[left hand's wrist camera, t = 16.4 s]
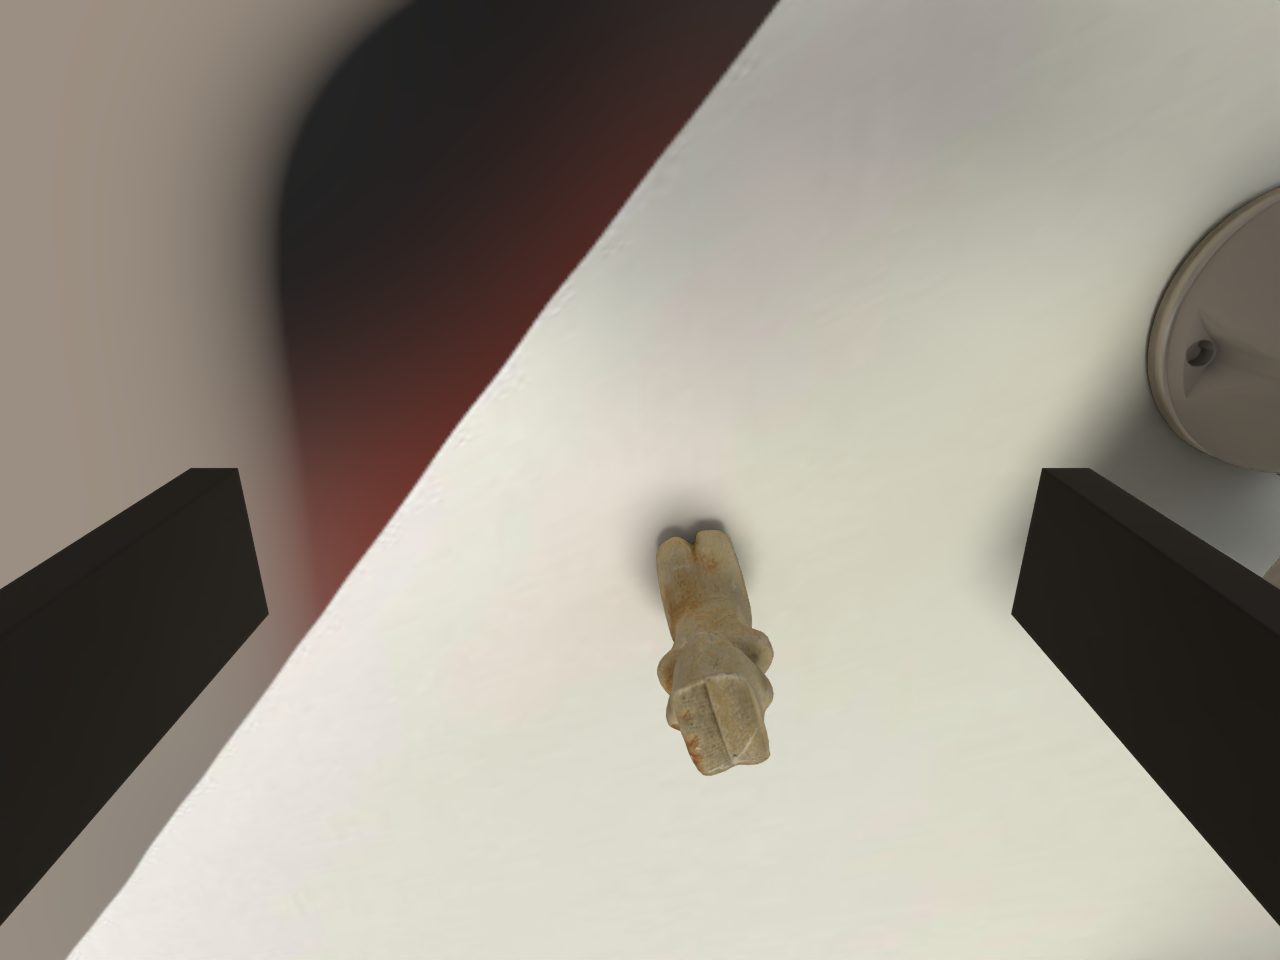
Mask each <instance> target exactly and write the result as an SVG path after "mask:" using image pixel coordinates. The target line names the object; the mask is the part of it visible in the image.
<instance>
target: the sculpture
mask: <svg viewBox="0 0 1280 960" xmlns="http://www.w3.org/2000/svg"><path fill="white" fill-rule="evenodd" d="M656 558H657V571H658V578H659V585H660V591H661V597H662V602H663V606H664V611H665V615H666V619H667V622H668V626H669V630H670V634H671V637H672V639H673V641H674V644H673V647H672V649H671V650H670V651H669V652H668V653H667V654H666V655H665V656H664V657H663V658H662V659H661V661H660V662H659V665H658V669H657V675H658V678H659V681H660V684H661V685H662V687H663V688H664V689H665V691H666V692H667V693H668V694H669V695H670V697H669V701H668V705H667V709H666V718H667V722H668V724H669V726H671V727H672V728H674V729H677V730H679V731H681V733H682V736H683V738H684V741H685V743H686V746H687V749H688V752H689V755H690V757H691V759H692V761H693V763H694V764H695V766H696V767H697V769H698V770H699V771H700V772H701V773H702V774H703V775H705V776H712V775H715V774H718V773H721V772H724V771H726V770H728V769H730V768H731V767H733V766H736V765H753V764H759V763H762V762H764V761H765V760H767V759H768V758H769V756H770V751H769V740H768V736H767V732H766V727H765V724H764V713H765V711H766V709H767V708H768V706H769V705H770V704H771V702H772V700H773V689H772V686H771V683H770V681H769V679H768V678H767V677H766V676H765V674H764V673H765V672H766V671H767V670H768V668H769V667H770V665H771V663H772V660H773V654H774V652H773V649H772V646H771V643H770V641H769V639H768V637H767V636H766V635H765V634H764V633H763V632H761V631H758V630H755V629H752V616H751V608H750V603H749V599H748V595H747V591H746V587H745V583H744V580H743V576H742V573H741V569H740V566H739V563H738V560H737V558H736V555H735V552H734V549H733V546H732V544H731V541H730V538H729V536H728V535H727V534H725V533H724V532H723V531H720V530H703V531H700V532H698V533H697V535H696V539H695V543H694V544H690V543H688V542H687V541H686V540H684V539H682V538H680V537H672V538H670V539H668V540H666V541H665V542H663V543H662V544H661V545H660V546H659V548H658V551H657V557H656Z"/></svg>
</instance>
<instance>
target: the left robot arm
mask: <svg viewBox="0 0 1280 960" xmlns="http://www.w3.org/2000/svg"><path fill="white" fill-rule="evenodd" d="M1148 374H1149V381H1150V387H1151V390H1152V394H1153V398H1154V400H1155V402H1156V405H1157V407H1158V409H1159V411H1160V413H1161V415H1162V417H1163V418H1164V420H1165V421H1166V422H1167V424H1168V425H1169V426H1170V428H1171V429H1172V430H1173V431H1174V432H1175V433H1176V434H1177V435H1178V436H1179V437H1181V438H1182V439H1183V440H1184V441H1186V442H1187V443H1188V444H1190V445H1192V446H1193V447H1195V448H1197V449H1199V450H1201V451H1203V452H1205V453H1207V454H1209V455H1211V456H1213V457H1215V458H1217V459H1220V460H1222V461H1224V462H1226V463H1229V464H1232V465H1235V466H1239V467H1243V468H1248V469H1253V470H1258V471H1263V472H1274V473H1279V474H1277V475H1280V187H1278V188H1276V189H1274V190H1271V191H1269V192H1267V193H1265V194H1263V195H1261V196H1259V197H1258V198H1256V199H1254V200H1252V201H1251V202H1249V203H1247V204H1246V205H1244V206H1243V207H1241V208H1240V209H1238V210H1237V211H1235V212H1234V213H1232V214H1231V215H1230V216H1229V217H1227V218H1226V219H1225V220H1224V221H1222V222H1221V223H1220V224H1219V225H1218V226H1217V227H1215V228H1214V229H1213V230H1212V231H1211V232H1210V233H1209V234H1208V235H1207V236H1206V237H1205V238H1204V239H1203V240H1202V241H1201V242H1200V243H1199V244H1198V245H1197V247H1196V248H1195V249H1194V250H1193V251H1192V252H1191V254H1190V255H1189V256H1188V257H1187V259H1186V260H1185V261H1184V263H1183V264H1182V266H1181V267H1180V269H1179V270H1178V271H1177V273H1176V274H1175V276H1174V278H1173V279H1172V281H1171V283H1170V285H1169V287H1168V288H1167V290H1166V292H1165V294H1164V297H1163V299H1162V301H1161V303H1160V305H1159V308H1158V311H1157V314H1156V316H1155V320H1154V323H1153V327H1152V331H1151V336H1150V342H1149V350H1148ZM268 614H269V613H268V608H267V603H266V599H265V594H264V589H263V585H262V580H261V575H260V570H259V566H258V561H257V556H256V552H255V547H254V542H253V537H252V533H251V528H250V523H249V519H248V514H247V509H246V504H245V500H244V495H243V490H242V486H241V481H240V476H239V472H238V468H190V469H189V470H187V471H186V472H184V473H183V474H181V475H179V476H178V477H176V478H175V479H173V480H171V481H170V482H168V483H167V484H165V485H164V486H162V487H160V488H159V489H157V490H156V491H154V492H153V493H151V494H149V495H148V496H146V497H145V498H143V499H142V500H140V501H138V502H137V503H135V504H134V505H132V506H131V507H129V508H128V509H126V510H124V511H123V512H121V513H120V514H118V515H116V516H115V517H113V518H112V519H110V520H109V521H107V522H105V523H104V524H102V525H101V526H99V527H98V528H96V529H94V530H93V531H91V532H90V533H88V534H87V535H85V536H83V537H82V538H80V539H79V540H77V541H75V542H74V543H72V544H71V545H69V546H68V547H66V548H65V549H63V550H61V551H60V552H58V553H57V554H55V555H53V556H52V557H50V558H49V559H47V560H46V561H44V562H42V563H41V564H39V565H38V566H36V567H35V568H33V569H32V570H30V571H28V572H27V573H25V574H24V575H22V576H21V577H19V578H17V579H16V580H14V581H13V582H11V583H9V584H8V585H6V586H5V587H3V588H2V589H0V926H1V925H2V923H3V922H4V921H5V920H6V919H7V918H8V916H9V915H10V914H11V913H12V912H13V911H14V909H15V908H16V907H17V906H18V905H19V904H20V902H21V901H22V900H23V899H24V898H25V897H26V896H27V894H28V893H29V892H30V891H31V890H32V889H33V887H34V886H35V885H36V884H37V883H38V881H39V880H40V879H41V878H42V877H43V876H44V875H45V873H46V872H47V871H48V870H49V869H50V868H51V866H52V865H53V864H54V863H55V862H56V861H57V860H58V858H59V857H60V856H61V855H62V854H63V853H64V851H65V850H66V849H67V848H68V847H69V846H70V844H71V843H72V842H73V841H74V840H75V839H76V837H77V836H78V835H79V834H80V833H81V832H82V830H83V829H84V828H85V827H86V826H87V825H88V823H89V822H90V821H91V820H92V819H93V818H94V816H95V815H96V814H97V813H98V812H99V811H100V810H101V808H102V807H103V806H104V805H105V804H106V803H107V801H108V800H109V799H110V798H111V797H112V796H113V794H114V793H115V792H116V791H117V790H118V789H119V787H120V786H121V785H122V784H123V783H124V782H125V780H126V779H127V778H128V777H129V776H130V775H131V774H132V772H133V771H134V770H135V769H136V768H137V767H138V765H139V764H140V763H141V762H142V761H143V760H144V758H145V757H146V756H147V755H148V754H149V753H150V751H151V750H152V749H153V748H154V747H155V746H156V744H157V743H158V742H159V741H160V740H161V739H162V737H163V736H164V735H165V734H166V733H167V732H168V731H169V729H170V728H171V727H172V726H173V725H174V724H175V722H176V721H177V720H178V719H179V718H180V717H181V715H182V714H183V713H184V712H185V711H186V710H187V708H188V707H189V706H190V705H191V704H192V703H193V701H194V700H195V699H196V698H197V697H198V696H199V694H200V693H201V692H202V691H203V690H204V689H205V688H206V686H207V685H208V684H209V683H210V682H211V681H212V679H213V678H214V677H215V676H216V675H217V674H218V672H219V671H220V670H221V669H222V668H223V667H224V665H225V664H226V663H227V662H228V661H229V660H230V658H231V657H232V656H233V655H234V654H235V653H236V652H237V650H238V649H239V648H240V647H241V646H242V644H243V643H244V642H245V641H246V640H247V639H248V638H249V636H250V635H251V634H252V633H253V632H254V631H255V629H256V628H257V627H258V626H259V625H260V624H261V622H262V621H263V620H264V619H265V618H266V617H267V615H268ZM1011 614H1012V615H1013V617H1014V618H1015V619H1016V620H1017V621H1018V622H1019V624H1020V625H1021V626H1022V627H1023V628H1024V629H1025V631H1026V632H1027V633H1028V634H1029V635H1030V636H1031V638H1032V639H1033V640H1034V641H1035V642H1036V643H1037V645H1038V646H1039V647H1040V648H1041V649H1042V650H1043V652H1044V653H1045V654H1046V655H1047V656H1048V657H1049V658H1050V660H1051V661H1052V662H1053V663H1054V664H1055V665H1056V667H1057V668H1058V669H1059V670H1060V671H1061V672H1062V674H1063V675H1064V676H1065V677H1066V678H1067V679H1068V681H1069V682H1070V683H1071V684H1072V685H1073V686H1074V688H1075V689H1076V690H1077V691H1078V692H1079V693H1080V694H1081V696H1082V697H1083V698H1084V699H1085V700H1086V701H1087V703H1088V704H1089V705H1090V706H1091V707H1092V708H1093V710H1094V711H1095V712H1096V713H1097V714H1098V715H1099V717H1100V718H1101V719H1102V720H1103V721H1104V722H1105V724H1106V725H1107V726H1108V727H1109V728H1110V729H1111V731H1112V732H1113V733H1114V734H1115V735H1116V736H1117V737H1118V739H1119V740H1120V741H1121V742H1122V743H1123V744H1124V746H1125V747H1126V748H1127V749H1128V750H1129V751H1130V753H1131V754H1132V755H1133V756H1134V757H1135V758H1136V760H1137V761H1138V762H1139V763H1140V764H1141V765H1142V767H1143V768H1144V769H1145V770H1146V771H1147V772H1148V774H1149V775H1150V776H1151V777H1152V778H1153V779H1154V780H1155V782H1156V783H1157V784H1158V785H1159V786H1160V787H1161V789H1162V790H1163V791H1164V792H1165V793H1166V794H1167V796H1168V797H1169V798H1170V799H1171V800H1172V801H1173V803H1174V804H1175V805H1176V806H1177V807H1178V808H1179V810H1180V811H1181V812H1182V813H1183V814H1184V815H1185V817H1186V818H1187V819H1188V820H1189V821H1190V822H1191V823H1192V825H1193V826H1194V827H1195V828H1196V829H1197V830H1198V832H1199V833H1200V834H1201V835H1202V836H1203V837H1204V839H1205V840H1206V841H1207V842H1208V843H1209V844H1210V846H1211V847H1212V848H1213V849H1214V850H1215V851H1216V853H1217V854H1218V855H1219V856H1220V857H1221V858H1222V860H1223V861H1224V862H1225V863H1226V864H1227V865H1228V866H1229V868H1230V869H1231V870H1232V871H1233V872H1234V873H1235V875H1236V876H1237V877H1238V878H1239V879H1240V880H1241V882H1242V883H1243V884H1244V885H1245V886H1246V887H1247V889H1248V890H1249V891H1250V892H1251V893H1252V894H1253V896H1254V897H1255V898H1256V899H1257V900H1258V901H1259V903H1260V904H1261V905H1262V906H1263V907H1264V908H1265V909H1266V911H1267V912H1268V913H1269V914H1270V915H1271V916H1272V918H1273V919H1274V920H1275V921H1276V922H1277V923H1278V925H1279V926H1280V558H1279V559H1278V560H1277V561H1276V563H1275V564H1274V565H1273V566H1272V567H1271V568H1270V569H1269V571H1268V572H1267V573H1266V574H1265V575H1264V576H1263V577H1262V578H1261V577H1260V576H1258V575H1256V574H1255V573H1253V572H1252V571H1250V570H1249V569H1247V568H1245V567H1244V566H1242V565H1241V564H1239V563H1238V562H1236V561H1234V560H1233V559H1231V558H1230V557H1228V556H1227V555H1225V554H1223V553H1222V552H1220V551H1219V550H1217V549H1216V548H1214V547H1212V546H1211V545H1209V544H1208V543H1206V542H1205V541H1203V540H1201V539H1200V538H1198V537H1197V536H1195V535H1193V534H1192V533H1190V532H1189V531H1187V530H1186V529H1184V528H1182V527H1181V526H1179V525H1178V524H1176V523H1175V522H1173V521H1171V520H1170V519H1168V518H1167V517H1165V516H1164V515H1162V514H1160V513H1159V512H1157V511H1156V510H1154V509H1153V508H1151V507H1149V506H1148V505H1146V504H1145V503H1143V502H1142V501H1140V500H1138V499H1137V498H1135V497H1134V496H1132V495H1131V494H1129V493H1127V492H1126V491H1124V490H1123V489H1121V488H1120V487H1118V486H1116V485H1115V484H1113V483H1112V482H1110V481H1109V480H1107V479H1105V478H1104V477H1102V476H1101V475H1099V474H1098V473H1096V472H1094V471H1093V470H1091V469H1090V468H1042V472H1041V476H1040V481H1039V486H1038V490H1037V495H1036V500H1035V504H1034V509H1033V514H1032V519H1031V523H1030V528H1029V533H1028V537H1027V542H1026V547H1025V552H1024V556H1023V561H1022V566H1021V570H1020V575H1019V580H1018V585H1017V589H1016V594H1015V599H1014V603H1013V608H1012V613H1011Z"/></svg>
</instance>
